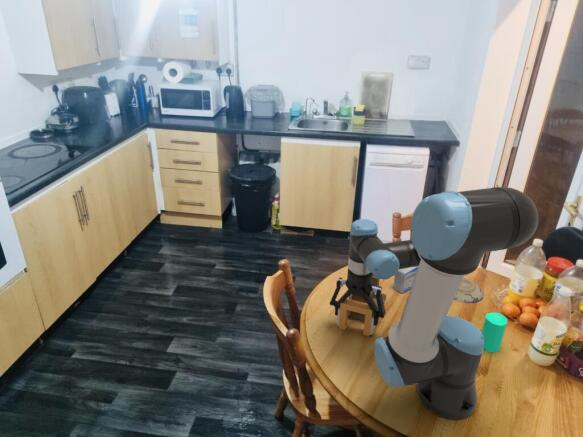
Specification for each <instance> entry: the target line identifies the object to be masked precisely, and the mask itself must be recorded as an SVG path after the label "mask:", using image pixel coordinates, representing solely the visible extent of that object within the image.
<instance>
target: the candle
mask: <svg viewBox="0 0 583 437" xmlns="http://www.w3.org/2000/svg"><path fill="white" fill-rule="evenodd" d="M508 321H509V320H508V318H507V317H506V316H504V314H501V313H499V312H490V313H489V312H488V313H486V314H485V319H484V321H483V326H482V330H481V333H482V335H483V337H484V345H483V351H486V352H488V353H498V352H499V351H500V349H501V345H502V342H503V338H504V334H505V331H506V328H507V324H508Z"/></svg>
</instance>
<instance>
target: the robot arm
mask: <svg viewBox="0 0 583 437" xmlns="http://www.w3.org/2000/svg"><path fill="white" fill-rule="evenodd" d="M536 206H537V205H536V204H535V203H534V201H533V200H532V198H530V197H529V196H528V195H527V194H525V193H524V192H523V191H520V190H519V189H516V188H514V187H513V188H512V187H507V186H496V187H495V186H494V187H489V188H488V187H487V188H486V187H485V188H479V189H471V190H462V191H454V190H450V191H442V192H440V193H435V194H431V195H428V196H426V197H424V198H423V199H422V200H420V201H419V203H418V204H417V205H416V207H415V209H414V211H413V213H412V216H411V222H410V228H411V230H412V231H411V233H410V236H411V239H408V240H399V241H392V242H383V241H382V240H381V239H380V238H379V237H378V234H379V230H378V224H377V223H376V221H374V220H371V219H367V218H366V219H365V218H362V219H361V218H360V219H356V220H355V221H353V222H352V223H351V226H350V232H349V250H348V261H347V262H348V263H347V276H346V279H343V278H342V277H340V276H339V277H338V278H337V280H336V286H335V287H336V288H335V290H334V292H333V295H332V297H331V299H330V301H329V306H333V307H334V315H335V316H337V319H336V320H337V321H336V326H337V327H339V320H340V305H341V303H343V302H344V301H345V300H346V299H348V298H349V296H350V295H351V294H353V295H355V296H359V297H363V298H364V300H365V301H366V302H367V304H368V306H369V308H370V310H372V314H373V315H372V318H371V328H370V335H373V333H374V330H375V326H378V324H379V320H380V318H381V319H383V318H385V315H386V308H385V303H383V298H382V294H383V293H382V291H383V287H382V286H381V285H379V287H374V286H373V284H372V278H373V274H374V275H375V276H376V277H377V278H379V279H380V280H384V281H385V280H388V279H390V278H392V277H395V274H396V273H397V272H398V270H399V269H405V268H409V267H418V269H417V272H416V275H415V278H414V281H413V284H412V287H411V289H410V290H409V293H408V296H407V298H406V302H405V305H404V308H403V310H402V312H401V316H400V319H399V320H398V321H396V322H394V323H393V324H392V325H391V327H390V329H389V331H388V333H387V336H385V337H383V336H380V337H379V338H377V339H376V340H375V341H374V343H373V352H374V358H375V361H376V365H377V368H378V371H379V373H380V375H381V377H382V379H383V380H384V382H385V383H386V384H387V386H389V387H390V388H400V387H403V388H404V387H405V388H406V386H411V385H415V384H416V389H415V390H416V394H417V398H418V400H419V401H420V403H421V404H422V406H424V407H425V408H426V409H427V410H428V411H429V412H431V413H432V414H434V415H435V416H438V417H440V418H444V419H448V420H463V419H466V418H468V417H470V416H471V415H472V414H473V413H474V411H475V410H476V407H477V403H478V393H477V388H476V381H475V379H476V376H477V374H478V369H479V366H480V363H481V358H482V357H483V353H484V349H483V345H484V337H483V335H482V330H480V329H479V328H478V326H476V324H474V323H472V322H470V321H469V320H466V319H464V318H462V317H460V316H454V315H448V313H449V311H450V309H451V306H452V303H453V302H454V301H455V300H454V298H455V295H456V293H457V291H458V289H459V286H460V284H461V282H462V280H463V278H465V276H468V275H471V274H473V273H474V272H475V271H476V270H477V269H478V267H479V265H480V263H481V261H482V258H483V257H484V255H485V254H487V253H490V252H491V253H492V252H497V251H503V250H509V249H513V248H514V249H515V248H517V247H519V246H521V245H523V244H525V243H527V242H528V241H529V240H530V239H531V238H532V237H533V235H534V234H536V230H537V229H538V226H539V212H538V209H537V207H536ZM344 285H345V286H346V288H347V290H346V291H345V292H344V294H342V296H340V298H339V299H338V300H336V299H337V297H338V296H339V293H340V291H341V288H342V287H344ZM371 291H374V294H375V295H376V300H377V305H378V308H377V306H376V304H375V302H374V300H373V298H372V296H371V293H370V292H371ZM381 293H382V294H381ZM378 309H379V310H378Z"/></svg>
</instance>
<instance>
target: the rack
mask: <svg viewBox="0 0 583 437" xmlns="http://www.w3.org/2000/svg"><path fill="white" fill-rule="evenodd" d="M380 281H381V279H379V278H377V277H376V276H375V275H374V274H373V278H372V284H373V286H374V287H379V286H380ZM370 293H371V296H372V298H373V300H374V302H375V304H376V306H377V308H378V305H377V300H376V295H375V294H374V291H371V292H370ZM381 294H382V298H383V303H384V304H385V302H386V299H387V293H382V292H381ZM347 299H350V300H355V301H359V302H363V303H367V302H366V301H365V300H364V298H363V297H359V296H355V295H353V294H351V295H350V296H349V297H348V298H347ZM378 310H379V309H378ZM348 319H350V320H355V321H358V322H361V323H362V322H363V323H364V322H365V314H361V313H357V312H353V311H349V310H348Z"/></svg>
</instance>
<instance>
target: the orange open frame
mask: <svg viewBox="0 0 583 437" xmlns="http://www.w3.org/2000/svg"><path fill="white" fill-rule="evenodd" d="M348 310H349V311H353V312H357V313H361V314H365V322H363V324H364V325H363V332H362V333H363V334H362V335H363V336H367V337H370V335H371V334H370V328H371V318H372V315H373V314H372V310H370V308H369V306H368V304H367V303H363V302H359V301H355V300H350V299H348V298H347V299H346V300H345V301H344V302H343V303H341V305H340V320H339V326H338V329H341V330H344V331H345V330H346V329H347V326H348V323H349V321H348V320H349V318H348Z"/></svg>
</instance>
